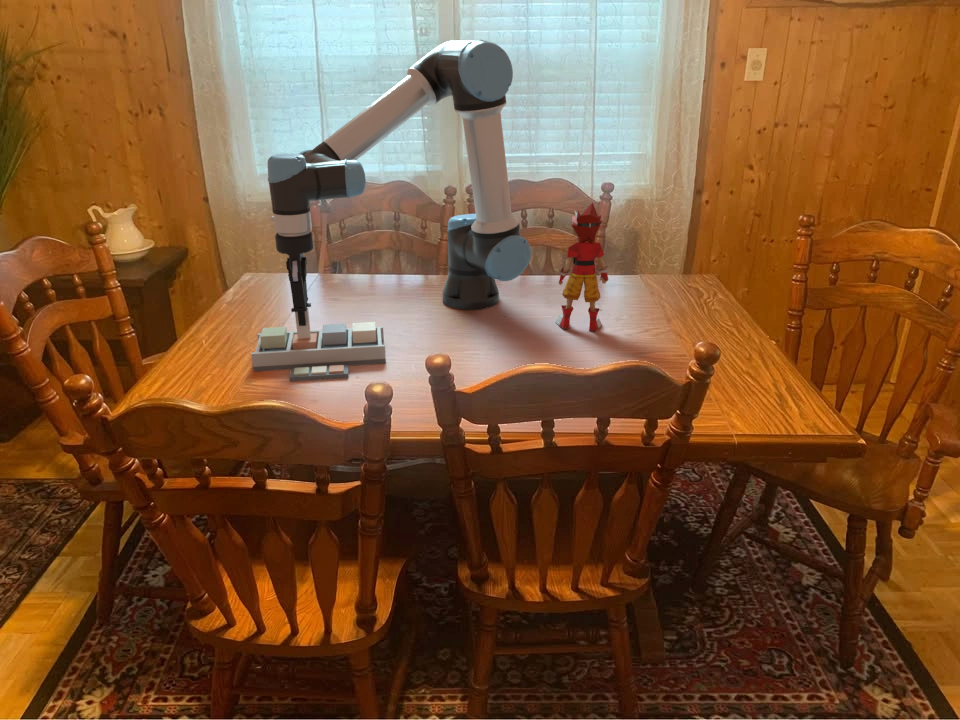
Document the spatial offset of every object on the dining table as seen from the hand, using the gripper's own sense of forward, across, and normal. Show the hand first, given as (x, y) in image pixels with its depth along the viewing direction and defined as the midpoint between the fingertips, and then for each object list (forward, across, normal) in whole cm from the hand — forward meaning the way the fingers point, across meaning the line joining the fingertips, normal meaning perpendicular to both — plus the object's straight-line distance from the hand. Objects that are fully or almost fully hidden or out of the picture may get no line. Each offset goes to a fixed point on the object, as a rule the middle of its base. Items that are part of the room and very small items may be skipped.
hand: (304, 337), depth 161 cm
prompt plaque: (+5, +10, +3) cm, 12 cm away
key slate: (+1, 0, +7) cm, 7 cm away
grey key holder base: (+5, 0, +3) cm, 6 cm away
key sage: (+1, 0, -6) cm, 7 cm away
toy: (+5, -9, +65) cm, 66 cm away
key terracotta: (+3, 0, 0) cm, 3 cm away
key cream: (+1, 0, +13) cm, 13 cm away
